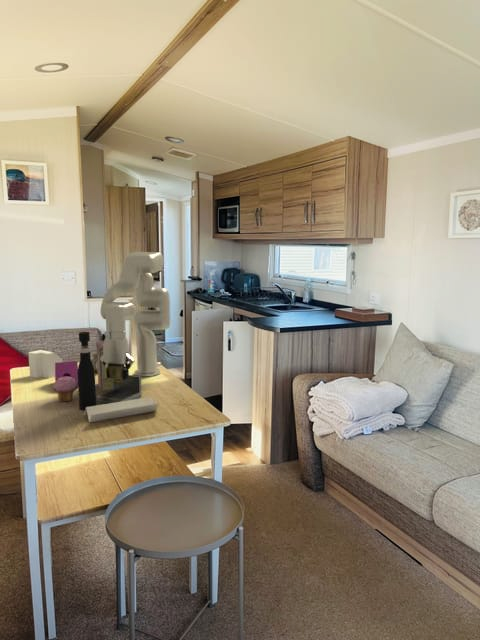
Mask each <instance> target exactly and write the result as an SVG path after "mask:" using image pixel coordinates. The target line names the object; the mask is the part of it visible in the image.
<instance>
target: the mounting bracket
mask: <svg viewBox="0 0 480 640" xmlns="http://www.w3.org/2000/svg"><path fill="white" fill-rule="evenodd" d="M78 366H79V362H78V361H77V360H75V361H74V360H73V361H63V362H59V363H55V377H54V378H55V379H54V381H55V382H56V381H57V380H58V379H59V378H61V377H65V376H68V377H72V378H74V379H75V380H76V382H77V387H76V388H75V389H74V391H76V390H77V389H78ZM55 382H54V383H55Z"/></svg>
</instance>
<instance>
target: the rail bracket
mask: <svg viewBox="0 0 480 640" xmlns="http://www.w3.org/2000/svg"><path fill="white" fill-rule="evenodd" d="M141 380H142V376H137V375H131V374H129V378H128V379H126V380H123V379H122V382H121V383H118V384H116V383H114V382H113V386H114V389H112V390H110V391H108V392H105V393H103V394H101V393H100V394H99V395H96V404H99V405H103V404H109V403H115V402H121V401H128V400H134V399H140V398H142V381H141Z"/></svg>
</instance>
